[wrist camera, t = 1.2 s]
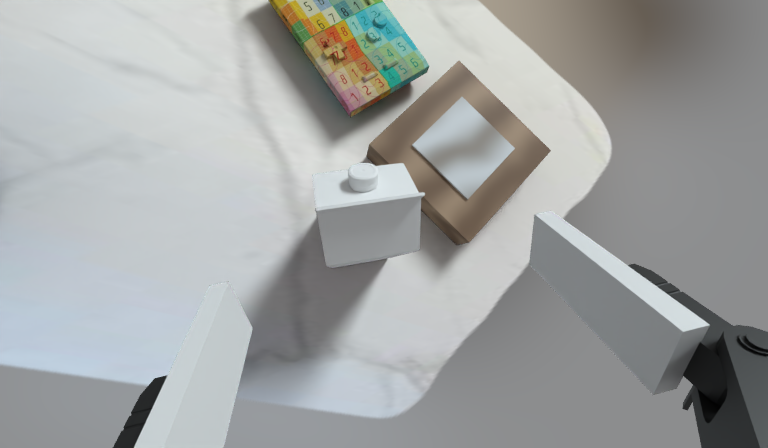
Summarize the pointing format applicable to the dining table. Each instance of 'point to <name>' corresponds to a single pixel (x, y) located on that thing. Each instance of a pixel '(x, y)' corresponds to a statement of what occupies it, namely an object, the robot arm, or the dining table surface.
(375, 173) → the milk carton
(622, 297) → the robot arm
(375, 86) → the puzzle game
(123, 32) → the dining table surface
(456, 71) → the walnut riser
